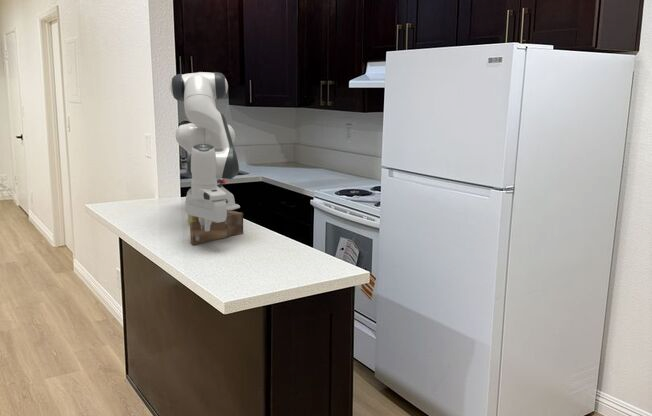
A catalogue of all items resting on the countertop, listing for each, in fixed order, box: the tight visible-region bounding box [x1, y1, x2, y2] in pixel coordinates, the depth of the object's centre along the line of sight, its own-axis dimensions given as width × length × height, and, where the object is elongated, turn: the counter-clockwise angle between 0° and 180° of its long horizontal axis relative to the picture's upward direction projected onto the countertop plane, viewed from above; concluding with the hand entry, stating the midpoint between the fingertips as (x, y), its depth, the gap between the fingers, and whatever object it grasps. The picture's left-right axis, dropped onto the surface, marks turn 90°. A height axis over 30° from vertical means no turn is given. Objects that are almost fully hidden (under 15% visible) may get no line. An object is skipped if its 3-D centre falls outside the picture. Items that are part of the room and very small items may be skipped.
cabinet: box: [225, 210, 244, 238], centre depth 226 cm, size 8×15×8 cm, turn 49°
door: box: [189, 217, 227, 245], centre depth 212 cm, size 2×16×8 cm, turn 139°
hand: (205, 230), depth 206 cm, fingers closed
